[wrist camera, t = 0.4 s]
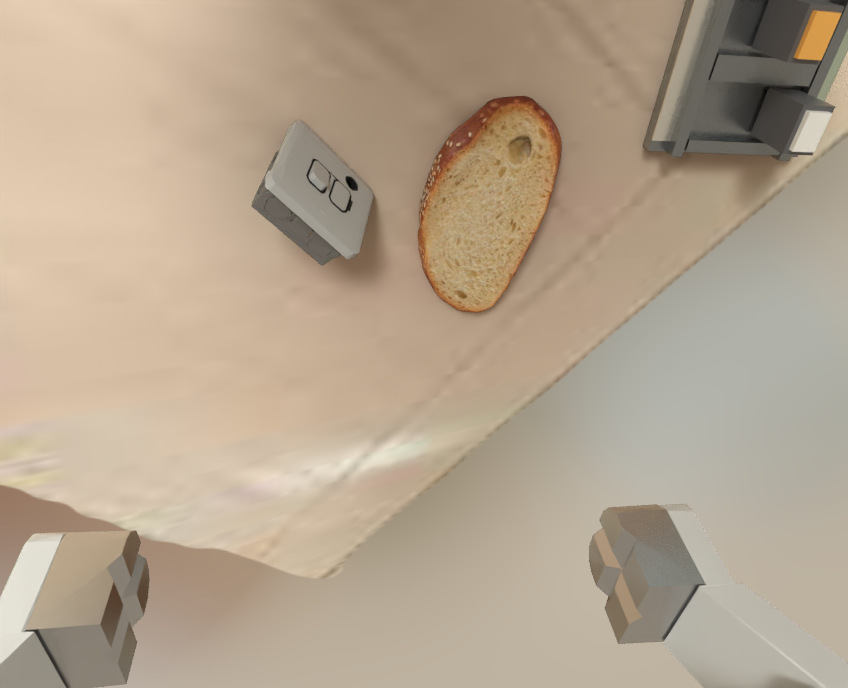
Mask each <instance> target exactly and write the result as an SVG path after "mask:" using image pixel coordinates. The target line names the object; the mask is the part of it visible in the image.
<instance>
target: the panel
mask: <svg viewBox="0 0 848 688" xmlns="http://www.w3.org/2000/svg"><path fill="white" fill-rule="evenodd" d="M768 1H769V0H686V3H685V7H684V10H683V13H682V17H681V20H680V23H679V27H678V30H677V33H676V37H675V40H674V44H673V47H672V50H671V54H670V57H669V60H668V64H667V67H666V70H665V74H664V77H663V80H662V84H661V87H660V90H659V94H658V97H657V100H656V104H655V107H654V110H653V114H652V117H651V120H650V124H649V127H648V130H647V134H646V137H645V141H644V144H643V147H644V148H646V149H647V150H648V151H666V152H667V153H668V154H669V155H670V156H677V157H682V155H683V152H690V153H715V154H739V155H764V156H772V157H774V158H775V159H777V160H779V161H789V159H790V157H797V156H798V155H795V154H782V153H780V152H778V151H777V150H775V149H774V148H772V147H770V146H769V145H767V144H766V143H764V142H762V141H761V140H759V139H758V138H756V137H754V136H753V135H751V131H752V129H753V126H754V124H755V121H756V119H757V116H758V114H759V111H760V109H761V106H762V104H763V101H764V99H765V96H766V94H767V91H768V89H769V88H782V89H798V90H800V91H802V92H805V93H807V94H809V95H811V96H813V97H815V98H818V99H820V100H822V101H825V99H826V96H827V94H828V92H829V90H830V88H831V85H832V83H833V81H834V79H835V77H836V75H837V72H838V70H839V68H840V66H841V64H842V61H843V59H844V57H845V55H846V53H847V51H848V0H822V1H826V2H830V3H834V4H838V5H841V6H845V7H844V10H843V12H842V14H841V16H840V19H839V21H838V23H837V26H836V28H835V30H834V32H833V35H832V37H831V39H830V42H829V44H828V46H827V48H826V51H825V53H824V55H823V58H822V60H821V62H820V64H819V65H815V64H800V63H786V62H784V61H781V60H779V59H777V58H774V57H772V56H769V55H767V54H765V53H762V52H760V51H757V50H755V49H753V48H751V47H752V44H753V42H754V39H755V36H756V34H757V31H758V28H759V25H760V23H761V20H762V17H763V15H764V12H765V9H766V7H767V4H768Z"/></svg>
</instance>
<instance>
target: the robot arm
mask: <svg viewBox="0 0 848 688" xmlns="http://www.w3.org/2000/svg"><path fill="white" fill-rule="evenodd" d="M600 522H601V525H602V527H603V528H602V529H601V530H599V531H598V532H597V533H595V534H594V535H593V537H592V540H591V543H590V546H589V562H590V567H591V572H592V575H593V578H594V581H595V583H596V586H597V587H599V588H600V589H601V590H602V591H603V592H604V593H605V594H606V595H608V596H609V597H608V600H607V603H606V606H605V610H606V613H607V615H608V618H609V621H610V623H611V625H612V628H613V631H614V634H615V636H616V639H617V641H618V644H625V643H644V642H662V641H664V642H663V645H664V646H665V647H666V648H667V649H668V650H669V651H670V652H671V654H672V655H673V656H674V657H675V658H676V659H677V660H678V661H679V662H680V663H681V664H682V665H683V666H684V667H685V668H686V669H687V670H688V672H690V674H692V676H693V677H694V678H695V679H696V680H697V681H698V682H699V683H700V684H701V685H702V686H703V687H704V688H848V663H847V662H846V661H845V660H843V659H842V658H841V657H839V656H838V655H837V654H835V653H834V652H833V651H831V650H830V649H829V648H828V647H826V646H825V645H824V644H822V643H821V642H820V641H818V640H817V639H815V638H814V637H813V636H811V635H810V634H809V633H808V632H806V631H805V630H804V629H802V628H801V627H800V626H799V625H797V624H796V623H795V622H793V621H792V620H791V619H789V618H788V617H786V616H785V615H784V614H783V613H781V612H780V611H779V610H778V609H776V608H774V607H773V606H772V605H771V604H770V603H768V602H767V601H766V600H764V599H763V598H762V597H760V596H759V595H758V594H756V593H755V592H754V591H752V590H751V589H750V588H748V587H747V586H746V585H745V584H743V583H735V582H734V581H733V579H732V577H731V575H730V574H729V572H728V570H727V569H726V567H725V565H724V564H723V562H722V560H721V558H720V557H719V555H718V553H717V551H716V550H715V548H714V546H713V544H712V543H711V541H710V539H709V537H708V536H707V534H706V532H705V531H704V529H703V527H702V525H701V524H700V522H699V520H698V518H697V517H696V515H695V513H694V512H693V511H692V509H691V508H690V507H689V506H688V505H686V504H674V505H673V504H672V505H642V506H626V507H611V508H607V509H606V510H605V511H603V514H602V516H601V518H600ZM139 547H140V539H139V537H138V534H137V531H104V532H74V533H73V532H71V533H70V532H64V533H43V534H33V535H32V536H31V537H30V539H29V540H28V541H27V542H26V543H25V544H24V547H23V549H22V551H21V553H20V555H19V557H18V560H17V562H16V564H15V566H14V568H13V571H12V573H11V575H10V577H9V579H8V582H7V584H6V586H5V588H4V590H3V593H2V595H1V597H0V688H94V687H104V686H112V685H122V684H127V680H128V676H129V672H130V668H131V664H132V660H133V656H134V652H135V649H136V644H137V641H136V638H135V635H134V632H133V630H132V627H133V626H134V625H135V624H136V623H137V622H138V621H139V620H140V619H141V618H142V617H143V616H144V612H145V608H146V603H147V599H148V589H149V570H148V565H147V561H146V558H144V557H142V556H141V555H139V554H138V551H139Z"/></svg>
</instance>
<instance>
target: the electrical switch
mask: <svg viewBox="0 0 848 688" xmlns="http://www.w3.org/2000/svg"><path fill="white" fill-rule="evenodd" d="M275 197H277V198H275ZM373 197H374V195H373V193H372V190H371V189H370V187H369V186H368V185H367V184H366V183H365V182H364V181H363V180H362V179H361V178H359V177H358V176H357V175H356V174H355V173H354V172H353V171H352V170H351V169H350V168H349V167H348V166H347V165H346V164H345V163H344V162H343V161H342V160H341V159H340V158H339V157H338V156H337V155H336V154H335V153H334V152H333V151H332V150H331V149H330V148H329V147H328V146H327V145H326V144H325V143H324V142H323V141H322V140H321V139H320V138H319V137H318V136H317V135H316V134H315V133H314V132H313V131H312V130H311V129H310V128H309V127H308V126H307V125H306V124H305V123H304V122H303V121H299V120H297V121H296V122H294V123H293V124H292V125H291V126H290V127H289V128H288V131H287V134H286V136H285V139H284V141H283V144H282V146H281V148H280V150H279V151H278V152H276V153H275V156H274V158H273V160H272V162H271V164H270V166H269V168H268V170H267V172H266V174H265V177H264V179H263V181H262V183H261V185H260V187H259V189H258V191H257V193H256V195H255V197H254V200H253V202H252V203H254V202H255V201H256V200H257V201H256V202H255V203H254V204H252V207H253V208H254V209H256V210H257V211H258V212H259V213H260V214H261V215H263V216H264V217H265V218H266V219H267V220H269V221H270V222H271V223H272V224H273V225H274V226H276V227H277V228H278V229H279V230H280V231H282V232H283V233H284V234H285V235H286V236H287V237H289V238H290V239H291V240H292V241H293V242H295V243H296V244H297V245H298V246H299V247H301V248H302V249H303V250H304V251H305V252H306V253H308V254H309V255H310V256H311V257H312V258H314V259H315V260H316V261H317V262H318V263H319V264H321V265H324V264H325V263H327V262H328V261H330V260H331V259H333V258H336V257H338V256H340V255H341V254H342V255H343V256H344V257H345V258H346V259H352V258H353V257H355V256H356V255H357V254H359V252H360V248H361V244H362V240H363V236H364V232H365V228H366V224H367V221H368V217H369V213H370V209H371V205H372V201H373ZM291 211H292V213H291ZM269 215H270V216H269ZM285 219H287V220H285ZM292 219H293V220H292ZM291 220H292V221H291ZM311 229H313V230H311ZM309 233H312V234H311V235H310V236H309V237H308V234H309ZM315 254H317V255H315Z"/></svg>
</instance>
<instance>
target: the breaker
mask: <svg viewBox="0 0 848 688" xmlns="http://www.w3.org/2000/svg"><path fill="white" fill-rule="evenodd" d="M834 108H835V106H833V105H830V104H828V103H826V102H824V101H822V100H820V99H818V98H815V97H813V96H811V95H809V94H807V93H805V92H802V91H800V90H798V89H782V88H769V89H768V91H767V94H766V96H765V99H764V101H763V104H762V106H761V109H760V111H759V114H758V116H757V119H756V121H755V124H754V126H753V129H752V131H751V135H753V136H754V137H756V138H758V139H759V140H761V141H762V142H764V143H766V144H767V145H769V146H770V147H772V148H774V149H775V150H777V151H778V152H780V153H782V154H795V155H813V153H814V151H815V149H816V147H817V145H818V143H819V141H820V139H821V137H822V134H823V132H824V130H825V128H826V126H827V124H828V122H829V120H830V117H831V115H832V112H833V110H834Z"/></svg>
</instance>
